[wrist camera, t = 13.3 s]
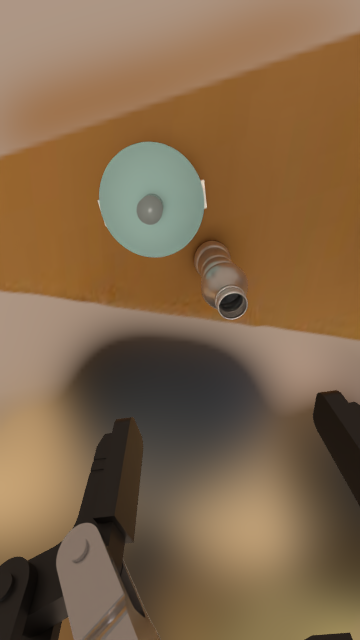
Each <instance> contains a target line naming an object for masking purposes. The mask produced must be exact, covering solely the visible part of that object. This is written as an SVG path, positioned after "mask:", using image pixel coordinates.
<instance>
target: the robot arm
mask: <svg viewBox="0 0 360 640" xmlns="http://www.w3.org/2000/svg"><path fill="white" fill-rule="evenodd" d="M313 420H314V424H315V427H316V429H317V431H318V433H319V435H320V436H321V438H322V440H323V442H324V444H325V445H326V447H327V449H328V451H329V452H330V454H331V456H332V458H333V460H334V461H335V463H336V465H337V467H338V469H339V470H340V472H341V474H342V476H343V478H344V479H345V481H346V482H347V485H348V486H349V488H350V490H351V492H352V494H353V495H354V497H355V499H356V501H357V502H358V504H359V506H360V405H359V404H357V403H356V402H351V403H348V402H347V400H346V399H345V398H344V396H343V395H342V394H341V393H340V392H339V391H336V390H335V391H328V392H321V393H318V394H317V396H316V402H315V407H314V413H313ZM142 457H143V440H142V436H141V434H140V431H139V429H138V426H137V424H136V422H135V419H134V418H133V417H130V418H123V419H117V420H116V421H115V423H114V427H113V431H112V433H109V434H105V435H104V436H103V438H102V439H101V441H100V443H99V444H98V446H97V449H96V453H95V456H94V462H93V464H92V467H91V473H90V475H89V478H88V482H87V486H86V489H85V493H84V497H83V501H82V504H81V508H80V511H79V515H78V518H77V521H76V523H75V525H74V527H73V529H72V530H71V531H70V532H69V533H68V534H67V535H66V537H65V538H64V540H63V541H62V542H60V543H59V544H58V545H56V546H55V547H53V548H51V549H49V550H47V551H45V552H43V553H41V554H39V555H38V556H36V557H34V558H32V559H30V560H28V561H27V560H26V559H24V558H23V557H14V558H11V559H9V560H7V561H6V562H4V563H3V564H2V565H1V566H0V640H58V638H59V633H60V628H61V623H62V620H64V619H65V618H67V617H69V621H70V625H71V629H72V634H73V638H74V640H161V639H160V637H159V635H158V633H157V631H156V629H155V627H154V626H153V624H152V622H151V621H150V619H149V617H148V615H147V613H146V610H145V608H144V606H143V604H142V601H141V599H140V597H139V594H138V592H137V590H136V588H135V585H134V583H133V581H132V579H131V576H130V574H129V572H128V569H127V567H126V565H125V563H124V560H123V553H124V545H125V543H132V542H134V534H135V524H136V515H137V505H138V495H139V485H140V476H141V466H142ZM305 640H353V639H352V637H351V634H350V633H340V634H327V635H313V636H310V637H309V638H307V639H305Z"/></svg>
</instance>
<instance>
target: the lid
mask: <svg viewBox="0 0 360 640" xmlns="http://www.w3.org/2000/svg"><path fill="white" fill-rule="evenodd" d="M99 202H100V209H101V213H102V217H103V219H104V222H105V224H106V226H107V228H108V230H109V231H110V233H111V234H112V235H113V237H114V238H115V239H116V240H117V241H118V242H119V243H120V244H121V245H122V246H124V247H125V248H126V249H128V250H130V251H131V252H133V253H136V254H138V255H142V256H146V257H164V256H168V255H171V254H173V253H175V252H177V251H179V250H181V249H182V248H184V247H185V246H186V245H187V244H188V243H189V242H190V241H191V240H192V239H193V237H194V236H195V234H196V233H197V231H198V229H199V227H200V224H201V221H202V218H203V213H204V193H203V188H202V184H201V181H200V179H199V176H198V174H197V172H196V170H195V169H194V167H193V166H192V164H191V163H190V162H189V161H188V160H187V159H186V158H185V157H184V156H183V155H182V154H181V153H180V152H178V151H177V150H175V149H173V148H172V147H170V146H167V145H165V144H161V143H157V142H140V143H136V144H133V145H131V146H128V147H126V148H125V149H123V150H122V151H120V152H119V153H118V154H117V155H116V156H115V157H114V158H113V159H112V160H111V161H110V163H109V164H108V166H107V167H106V169H105V171H104V174H103V176H102V180H101V183H100V190H99Z"/></svg>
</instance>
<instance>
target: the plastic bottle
mask: <svg viewBox="0 0 360 640" xmlns="http://www.w3.org/2000/svg"><path fill="white" fill-rule="evenodd" d="M194 265H195V268H196V270H197V272H198V273H199V274H200V275H201V278H202V281H201V291H202V295H203V298H204V299H205V301H206V302H207V303H208V304H209V305H210V306H212V307H213V308H215V309H218V312H219V313H220V315H221V316H222V317H224V318H226V319H230V320H233V319H237V318H239V317H241V316H242V315H243V314H244V313H245V312H246V310H247V307H248V301H247V298H246V294H247V290H248V280H247V277H246V275H245V273H244V272H243V270H242V269H241V268H240V267H238V266H237V265H235V264H234V263H232V261H231V258H230V254H229V251H228V249H227V248H226V246H225V245H223V244H222V243H220V242H217V241H207V242H205V243H203V244H202V245H200V247H199V248H198V249H197V251H196V253H195V257H194Z"/></svg>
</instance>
